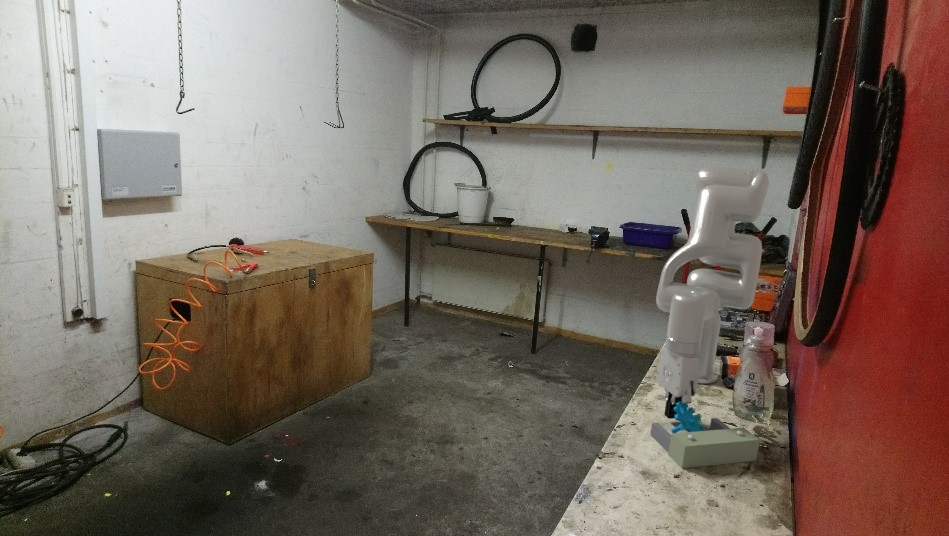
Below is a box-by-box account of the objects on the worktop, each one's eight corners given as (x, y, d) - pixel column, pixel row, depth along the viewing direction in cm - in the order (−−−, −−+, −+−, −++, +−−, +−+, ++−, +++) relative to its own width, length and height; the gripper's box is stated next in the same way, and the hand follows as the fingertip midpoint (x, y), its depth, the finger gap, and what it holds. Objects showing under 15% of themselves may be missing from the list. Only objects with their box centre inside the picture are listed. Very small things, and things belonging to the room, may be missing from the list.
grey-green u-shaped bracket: (648, 435, 126) (651, 412, 124) (716, 429, 130) (720, 407, 129) (681, 468, 113) (685, 443, 112) (755, 460, 118) (760, 437, 116)
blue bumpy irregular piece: (697, 447, 118) (672, 404, 122) (674, 457, 122) (651, 414, 125) (716, 436, 126) (692, 396, 130) (695, 446, 130) (672, 406, 133)
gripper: (651, 334, 134) (641, 403, 138) (687, 358, 120) (675, 434, 124) (678, 333, 136) (668, 401, 140) (717, 357, 122) (704, 431, 126)
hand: (671, 416), depth 132 cm, fingers closed
